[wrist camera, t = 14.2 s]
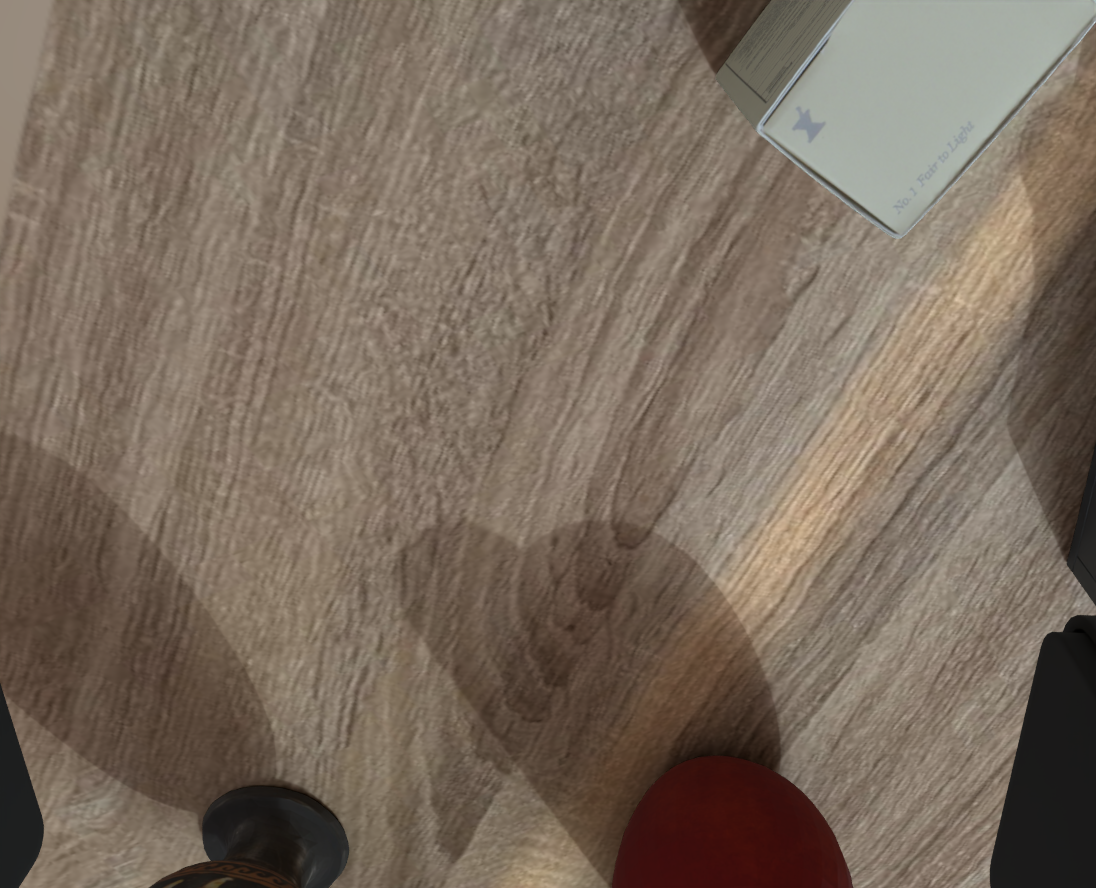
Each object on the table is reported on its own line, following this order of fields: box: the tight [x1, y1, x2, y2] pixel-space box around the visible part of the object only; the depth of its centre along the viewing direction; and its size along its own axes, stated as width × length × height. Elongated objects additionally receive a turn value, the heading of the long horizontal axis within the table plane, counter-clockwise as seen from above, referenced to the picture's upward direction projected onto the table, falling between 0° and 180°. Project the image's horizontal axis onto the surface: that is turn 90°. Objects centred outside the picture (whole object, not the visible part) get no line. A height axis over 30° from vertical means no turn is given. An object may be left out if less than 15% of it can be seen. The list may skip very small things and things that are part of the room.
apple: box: [612, 755, 853, 888], centre depth 42 cm, size 10×10×10 cm
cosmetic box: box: [716, 0, 1096, 238], centre depth 27 cm, size 6×4×12 cm
